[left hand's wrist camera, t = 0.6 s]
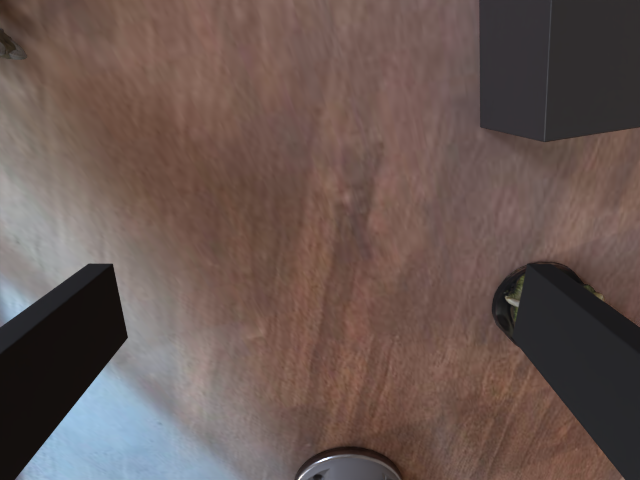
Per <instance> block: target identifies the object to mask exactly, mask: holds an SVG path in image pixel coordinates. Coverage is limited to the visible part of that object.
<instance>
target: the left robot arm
mask: <svg viewBox="0 0 640 480" xmlns="http://www.w3.org/2000/svg"><path fill="white" fill-rule="evenodd" d="M127 338H128V336H127V331H126V326H125V321H124V316H123V311H122V307H121V302H120V297H119V292H118V287H117V282H116V277H115V272H114V267H113V264H88V265H86V266H85V267H83V268H82V269H81V270H79V271H78V272H76V273H75V274H74V275H72V276H71V277H70V278H68V279H67V280H65V281H64V282H63V283H61V284H60V285H58V286H57V287H56V288H54V289H53V290H52V291H50V292H49V293H47V294H46V295H45V296H43V297H42V298H40V299H39V300H38V301H36V302H35V303H34V304H32V305H31V306H29V307H28V308H27V309H25V310H24V311H22V312H21V313H20V314H18V315H17V316H16V317H14V318H13V319H11V320H10V321H9V322H7V323H6V324H4V325H3V326H2V327H0V480H15V479H16V477H17V476H18V475H19V474H20V472H21V471H22V470H23V469H24V467H25V466H26V465H27V464H28V462H29V461H30V460H31V459H32V457H33V456H34V455H35V454H36V452H37V451H38V450H39V449H40V447H41V446H42V445H43V444H44V442H45V441H46V440H47V439H48V437H49V436H50V435H51V434H52V432H53V431H54V430H55V429H56V427H57V426H58V425H59V423H60V422H61V421H62V420H63V418H64V417H65V416H66V415H67V413H68V412H69V411H70V410H71V408H72V407H73V406H74V405H75V403H76V402H77V401H78V400H79V398H80V397H81V396H82V395H83V393H84V392H85V391H86V390H87V388H88V387H89V386H90V385H91V383H92V382H93V381H94V380H95V378H96V377H97V376H98V375H99V373H100V372H101V371H102V370H103V368H104V367H105V366H106V364H107V363H108V362H109V361H110V359H111V358H112V357H113V356H114V354H115V353H116V352H117V351H118V349H119V348H120V347H121V346H122V344H123V343H124V342H125V341H126V339H127ZM512 338H513V339H514V341H515V342H516V343H517V344H518V346H519V347H520V348H521V349H522V351H523V352H524V353H525V354H526V356H527V357H528V358H529V359H530V361H531V362H532V363H533V364H534V366H535V367H536V368H537V370H538V371H539V372H540V373H541V375H542V376H543V377H544V378H545V380H546V381H547V382H548V383H549V385H550V386H551V387H552V388H553V390H554V391H555V392H556V393H557V395H558V396H559V397H560V398H561V400H562V401H563V402H564V403H565V405H566V406H567V407H568V408H569V410H570V411H571V412H572V413H573V415H574V416H575V417H576V418H577V420H578V421H579V422H580V423H581V425H582V426H583V427H584V429H585V430H586V431H587V432H588V434H589V435H590V436H591V437H592V439H593V440H594V441H595V442H596V444H597V445H598V446H599V447H600V449H601V450H602V451H603V452H604V454H605V455H606V456H607V457H608V459H609V460H610V461H611V462H612V464H613V465H614V466H615V467H616V469H617V470H618V471H619V472H620V474H621V475H622V476H623V477H624V479H625V480H640V327H638V326H637V325H636V324H634V323H633V322H631V321H630V320H629V319H627V318H626V317H624V316H623V315H622V314H620V313H619V312H618V311H616V310H615V309H613V308H612V307H611V306H609V305H608V304H606V303H605V302H604V301H602V300H601V299H600V298H598V297H597V296H595V295H594V294H593V293H591V292H590V291H588V290H587V289H586V288H584V287H583V286H582V285H580V284H579V283H577V282H576V281H575V280H573V279H572V278H570V277H569V276H568V275H566V274H565V273H564V272H562V271H561V270H559V269H558V268H557V267H555V266H554V265H552V264H527V267H526V272H525V277H524V282H523V287H522V292H521V297H520V302H519V307H518V311H517V316H516V321H515V326H514V331H513V336H512ZM295 480H402V477H401V474H400V472H399V470H398V469H397V467H396V466H395V465H394V464H393V463H392V462H391V461H390V460H389V459H388V458H386V457H385V456H383V455H381V454H379V453H377V452H374V451H371V450H367V449H363V448H355V447H344V448H336V449H331V450H327V451H324V452H322V453H319V454H317V455H315V456H314V457H312V458H311V459H309V460H308V461H307V462H305V463H304V464H303V465H302V467H301V468H300V469H299V471H298V472H297V474H296V477H295Z"/></svg>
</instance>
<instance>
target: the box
mask: <svg viewBox="0 0 640 480" xmlns="http://www.w3.org/2000/svg"><path fill="white" fill-rule="evenodd" d="M479 2H480V126H481V127H482V128H486V129H491V130H495V131H499V132H504V133H508V134H512V135H516V136H521V137H525V138H529V139H534V140H538V141H542V142H548V141H555V140H561V139H567V138H574V137H580V136H587V135H593V134H599V133H606V132H612V131H618V130H625V129H631V128H638V127H640V0H479Z"/></svg>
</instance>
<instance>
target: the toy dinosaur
mask: <svg viewBox="0 0 640 480" xmlns="http://www.w3.org/2000/svg"><path fill="white" fill-rule="evenodd" d="M0 57H2V58H5V59H14V60H22V59H26V58H27V55H26V53H25V51H24V50H23V49H22V48H21V47H20V46H19V45H18V44H16V43H15V42H14V41H13V40H12V39H11V37H9V36H8V35H6V34H5V33H4V30H3V29H0Z"/></svg>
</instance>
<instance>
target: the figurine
mask: <svg viewBox="0 0 640 480" xmlns="http://www.w3.org/2000/svg"><path fill="white" fill-rule="evenodd" d="M534 264H552V265H554V266H555V267H557V268H558V269H559V270H561V271H562V272H564V273H565V274H566V275H568V276H569V277H570V278H572V279H573V280H575V281H576V282H577V283H579V284H580V285H582V286H583V287H584V288H586V289H587V290H588V291H590V292H591V293H593V294H594V295H595V296H597V297H598V298H600V299H601V300H602V301H605V298H604V297H603V295H602V294H600V293H597V292H595V290H594V289H593V288H592V287H591V286H590V285H586V284H584V283H583V282H582V281H581V280H580V279H579V277H578V276H577V275H576V274H575V273H574V272H573V271H572V270H571V269H570V268H568V267H567V266H565V265H562V264H559V263H550V262H539V263H534ZM526 267H527V266H524V267H522V268H520V269H518V270H515V271H514V272H513V273H512V274H510V275H509V276H508V277H507V278H506V279H505V280H504V281H503V282H502V284H501V285H500V286H499V287H498V289H497V291H496V293H495V296H494V299H493V304H492V314H493V317H494V320H495V322H496V325H497V326H498V327H499V328H500V329H501V330H502V331H503V332H504V333H505V334H506V335H507V336H508V338H509V339H510V340H511V341H512V342H513V343H514V344H515V345H517V346H518V344H517V343H516V342H515V341H514V339H513V338H512V336H513V331H514V326H515V321H516V316H517V311H518V307H519V302H520V297H521V292H522V287H523V282H524V277H525V272H526ZM518 347H519V346H518Z"/></svg>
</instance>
